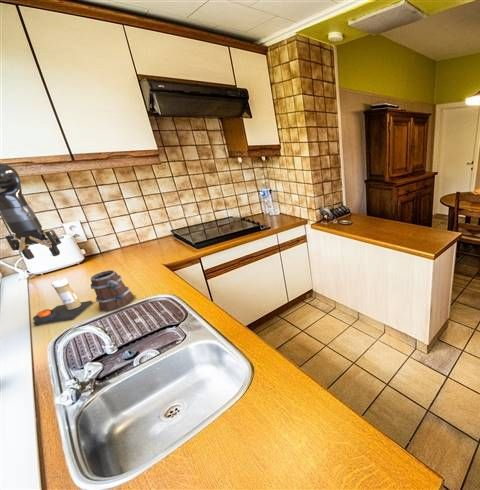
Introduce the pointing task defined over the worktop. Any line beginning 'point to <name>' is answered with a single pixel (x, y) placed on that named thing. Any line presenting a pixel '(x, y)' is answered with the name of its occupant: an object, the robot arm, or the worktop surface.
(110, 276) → the mug
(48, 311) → the tare button
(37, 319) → the scale
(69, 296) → the sprinkles bottle
